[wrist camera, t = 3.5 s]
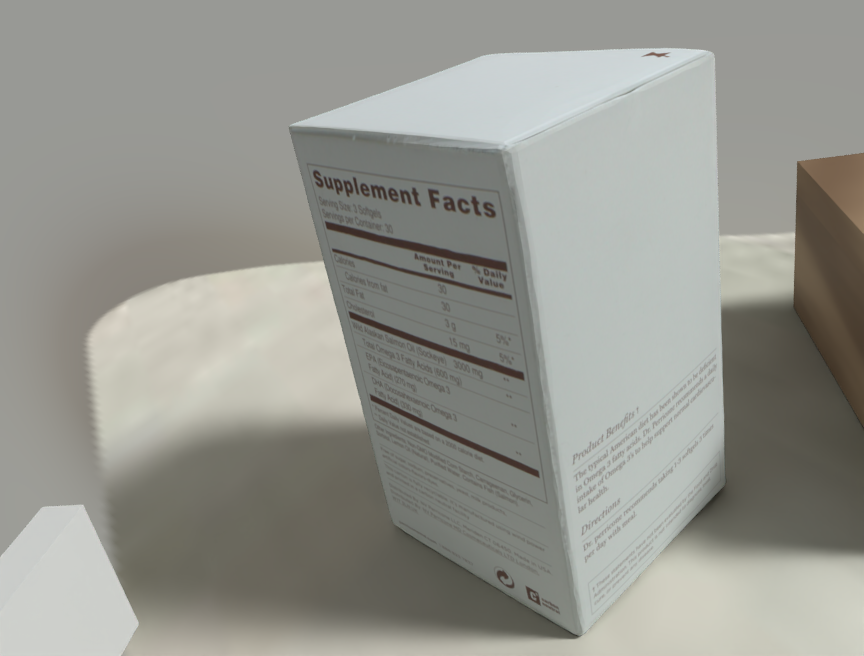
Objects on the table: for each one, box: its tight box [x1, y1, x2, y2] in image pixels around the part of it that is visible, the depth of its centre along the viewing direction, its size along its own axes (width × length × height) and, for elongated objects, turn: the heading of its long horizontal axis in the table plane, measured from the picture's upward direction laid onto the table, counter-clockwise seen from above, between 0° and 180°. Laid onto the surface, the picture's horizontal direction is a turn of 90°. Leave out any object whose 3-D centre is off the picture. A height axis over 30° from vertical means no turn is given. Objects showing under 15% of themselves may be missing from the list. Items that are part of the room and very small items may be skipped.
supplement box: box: [289, 48, 726, 636], centre depth 21 cm, size 7×7×13 cm
